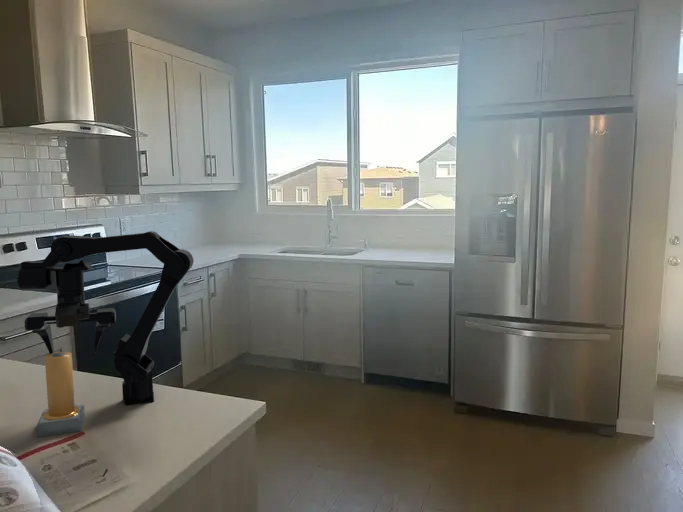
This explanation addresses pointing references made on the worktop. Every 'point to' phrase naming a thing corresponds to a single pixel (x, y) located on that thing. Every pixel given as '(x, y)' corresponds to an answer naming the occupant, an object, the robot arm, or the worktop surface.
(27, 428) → the worktop surface
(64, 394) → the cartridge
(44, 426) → the unit
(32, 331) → the robot arm
